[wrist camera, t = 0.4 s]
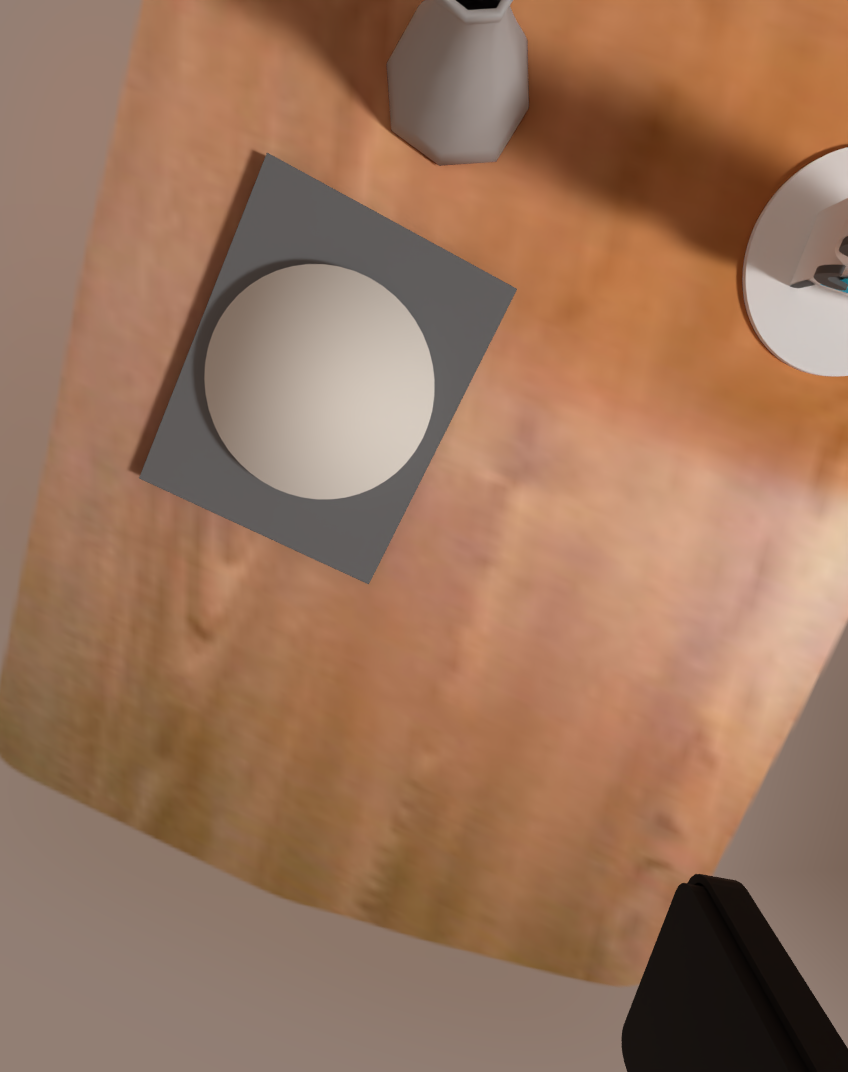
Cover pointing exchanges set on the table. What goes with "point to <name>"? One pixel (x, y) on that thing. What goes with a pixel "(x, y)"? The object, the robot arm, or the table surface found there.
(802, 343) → the white upright piece
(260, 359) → the saucer mat
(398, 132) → the flask
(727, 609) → the table surface
